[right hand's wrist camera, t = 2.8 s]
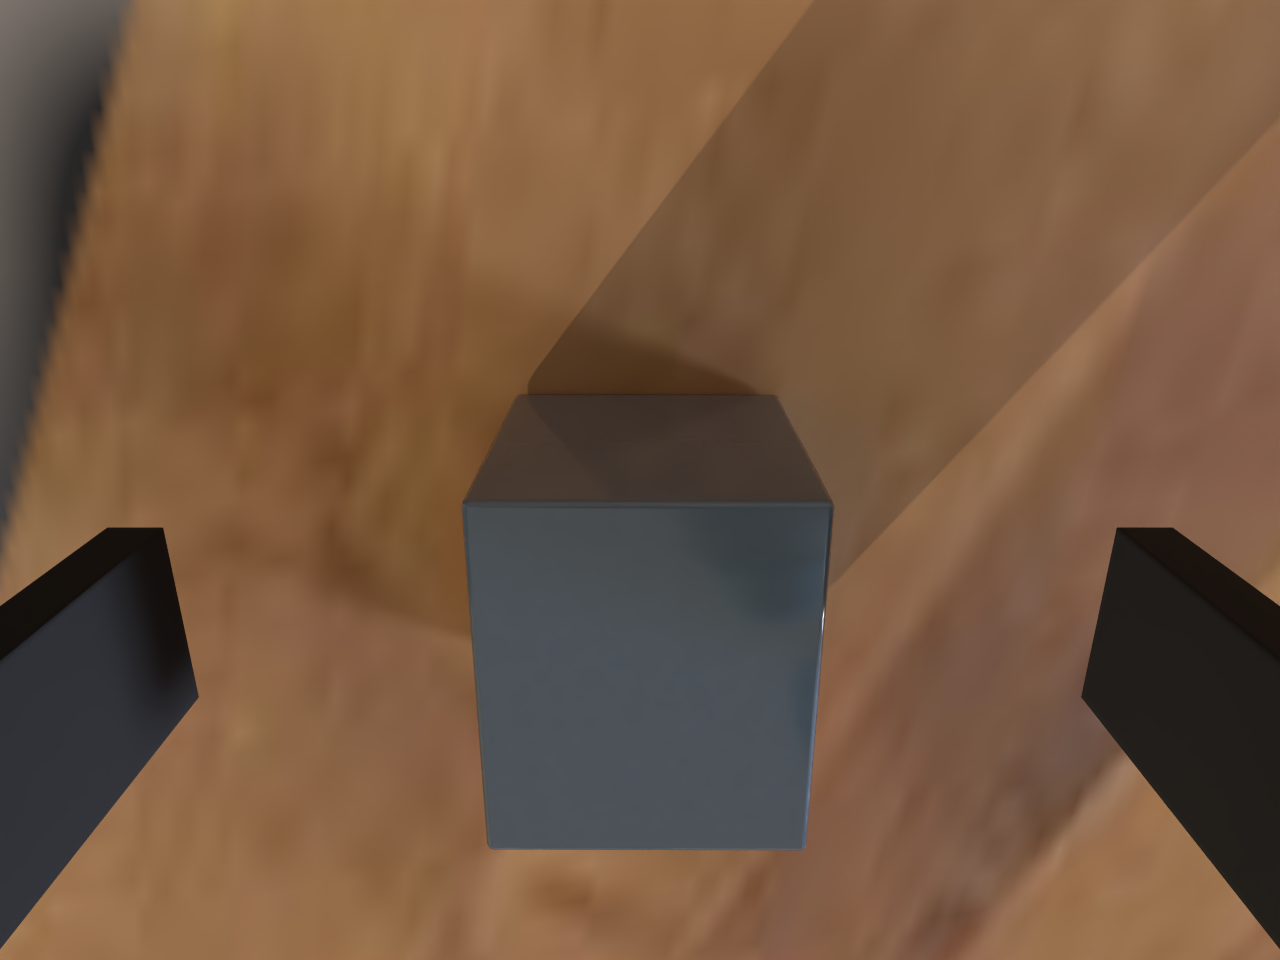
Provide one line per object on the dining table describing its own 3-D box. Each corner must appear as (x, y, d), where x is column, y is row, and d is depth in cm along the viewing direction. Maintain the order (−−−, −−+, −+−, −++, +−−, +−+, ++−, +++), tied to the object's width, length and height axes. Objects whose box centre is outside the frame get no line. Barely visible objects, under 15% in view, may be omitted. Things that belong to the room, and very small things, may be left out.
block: (515, 393, 15) (459, 501, 10) (777, 393, 15) (836, 501, 10) (529, 661, 16) (486, 851, 12) (763, 661, 16) (807, 853, 12)
